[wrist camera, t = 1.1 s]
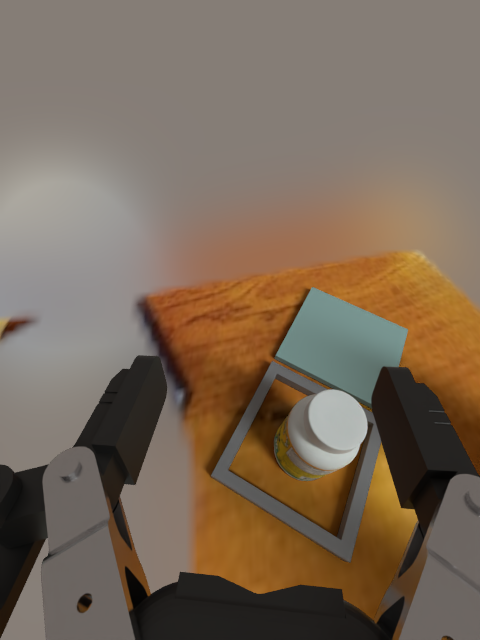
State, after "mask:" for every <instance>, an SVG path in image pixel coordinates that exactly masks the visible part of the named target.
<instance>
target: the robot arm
mask: <svg viewBox="0 0 480 640" xmlns="http://www.w3.org/2000/svg"><path fill="white" fill-rule="evenodd" d="M166 394H167V383H166V379H165V375H164V371H163V368H162V364H161V360H160V358H159V357H158V356H137V357H136V358H135V360H134V362H133V364H132V366H131V368H130V369H122V370H121V371H120V372H119V373H118V374H117V375H116V376H115V377H114V378H113V379H112V380H111V381H110V383H109V385H108V387H107V389H106V390H105V394H103V396H102V398H101V399H100V401H99V404H98V405H97V406H96V408H95V410H94V412H93V413H92V415H91V417H90V419H89V420H88V422H87V424H86V426H85V428H84V429H83V431H82V433H81V435H80V437H79V438H78V440H77V442H76V443H75V445H74V446H73V447H72V448H70V449H68V450H65V451H64V452H62V453H60V454H59V455H58V456H56V457H55V458H54V459H53V460H52V461H51V462H50V464H48V465H45V466H41V467H37V468H33V469H29V470H25V471H21V472H16V473H14V472H13V471H12V469H11V468H9V467H8V466H6V465H0V638H1V636H2V634H3V631H4V629H5V627H6V625H7V623H8V620H9V618H10V616H11V614H12V612H13V609H14V607H15V605H16V603H17V601H18V598H19V596H20V594H21V592H22V590H23V587H24V585H25V583H26V581H27V579H28V577H29V574H30V572H31V570H32V568H33V566H34V564H35V561H36V559H37V557H38V554H39V553H40V550H41V548H42V546H43V544H44V542H45V539H46V538H48V543H49V553H48V556H47V557H46V558H44V560H43V562H42V567H41V581H42V593H43V607H44V620H45V632H46V640H480V476H479V475H478V473H477V472H476V470H475V468H474V466H473V464H472V462H471V460H470V458H469V457H468V455H467V453H466V451H465V449H464V447H463V445H462V443H461V441H460V439H459V437H458V436H457V434H456V432H455V430H454V428H453V426H452V425H451V424H450V423H451V422H450V420H449V418H448V416H447V415H446V413H444V409H443V407H442V405H441V403H440V401H439V399H438V397H437V396H436V395H435V394H434V393H433V392H432V391H431V390H430V389H429V388H428V387H427V386H426V385H425V384H423V383H415V380H414V378H413V376H412V374H411V372H410V370H409V369H408V368H406V367H386V366H384V367H382V368H381V370H380V373H379V376H378V379H377V382H376V384H375V387H374V390H373V393H372V398H371V406H372V412H373V415H374V419H375V422H376V425H377V428H378V432H379V435H380V438H381V442H382V445H383V448H384V452H385V455H386V458H387V462H388V465H389V468H390V472H391V475H392V478H393V482H394V485H395V488H396V492H397V495H398V498H399V502H400V505H401V508H406V509H415V512H416V515H417V518H418V521H417V523H416V525H415V527H414V530H413V532H412V535H411V537H410V540H409V542H408V544H407V547H406V549H405V552H404V554H403V557H402V559H401V562H400V564H399V567H398V569H397V572H396V574H395V577H394V579H393V581H392V583H391V585H390V587H389V588H388V590H387V592H386V593H385V595H384V597H383V599H382V601H381V604H380V606H379V608H378V611H377V613H376V615H375V618H374V620H372V619H371V618H370V617H369V616H368V615H366V614H365V613H364V612H362V611H361V610H360V609H358V608H357V607H355V606H354V605H352V604H350V603H349V602H346V601H344V600H343V594H342V589H334V588H325V587H316V586H307V585H298V586H294V587H290V588H285V589H281V590H277V591H273V592H268V593H264V594H256V593H253V592H251V591H249V590H247V589H245V588H243V587H241V586H239V585H236V584H234V583H232V582H230V581H228V580H226V579H224V578H222V577H219V576H214V575H205V574H195V573H186V572H180V575H179V580H178V582H175V583H172V584H169V585H167V586H164V587H162V588H161V589H159V590H157V591H155V592H154V593H152V594H151V593H150V589H149V586H148V583H147V579H146V576H145V573H144V571H143V568H142V565H141V563H140V561H139V559H138V556H137V553H136V550H135V547H134V543H133V540H132V537H131V533H130V530H129V526H128V523H127V520H126V516H125V512H124V509H123V506H122V502H121V499H120V494H121V491H122V488H123V486H124V484H131V485H135V484H136V482H137V478H138V476H139V473H140V470H141V467H142V464H143V462H144V459H145V456H146V453H147V450H148V447H149V444H150V442H151V439H152V436H153V433H154V430H155V427H156V425H157V422H158V419H159V416H160V413H161V410H162V408H163V405H164V402H165V399H166Z"/></svg>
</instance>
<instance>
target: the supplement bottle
mask: <svg viewBox="0 0 480 640" xmlns="http://www.w3.org/2000/svg"><path fill="white" fill-rule="evenodd" d="M366 434H367V418H366V415H365V412H364V410H363V409H362V407H361V405H360V404H359V403H358V402H357V401H356V400H355V399H354V398H353V397H352V396H350V395H349V394H347V393H345V392H343V391H339V390H334V389H329V390H324V391H322V392H320V393H318V394H314V395H310V396H307V397H305V398H303V399H301V400H300V401H299V402H298V403H297V404H296V405H295V406H294V407H293V408H292V410H291V412H290V413H289V414H288V416H287V417H286V418H285V420H284V421H283V423H282V424H281V426H280V427H279V429H278V430H277V432H276V435H275V438H274V452H275V457H276V460H277V462H278V464H279V465H280V467H281V468H282V469H283V470H284V471H285V472H286V473H287V474H288V475H289V476H291V477H293V478H295V479H298V480H302V481H311V480H315V479H318V478H321V477H323V476H325V475H327V474H329V473H332V472H334V471H336V470H338V469H341V468H343V467H344V466H346V465H348V464H349V463H350V462H351V461H352V460H353V459H354V458H355V456H356V455H357V453H358V450H359V447H360V444H361V443H362V442H363V440H364V438H365V436H366Z"/></svg>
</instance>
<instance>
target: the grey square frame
mask: <svg viewBox="0 0 480 640" xmlns="http://www.w3.org/2000/svg"><path fill="white" fill-rule="evenodd" d="M274 379H277V380H279V381H281V382H283V383H285V384H287V385H289V386H291V387H293V388H295V389H296V390H298V391H300V392H302V393H304V394H306V395H308V396H310V395H314V394H318V393H320V392H322V391H324V390H328V389H326V388H324V387H322V386H320V385H318V384H316V383H314V382H312V381H310V380H308V379H306V378H304V377H302V376H300V375H298V374H296V373H294V372H293V371H291V370H289V369H287V368H285V367H283V366H281V365H279V364H277V363H275V362H273V361H272V363H271V364H270V366H269V368H268V370H267V372H266V374H265V376H264V378H263V379H262V381H261V383H260V385H259V387H258V389H257V391H256V392H255V394H254V396H253V398H252V400H251V402H250V404H249V406H248V407H247V409H246V411H245V413H244V415H243V417H242V419H241V420H240V422H239V424H238V426H237V428H236V430H235V432H234V434H233V435H232V437H231V439H230V441H229V443H228V445H227V447H226V448H225V450H224V452H223V454H222V456H221V458H220V460H219V461H218V463H217V465H216V467H215V469H214V471H213V473H212V475H211V477H212V478H213V479H215V480H216V481H218V482H220V483H221V484H223V485H224V486H226V487H227V488H229V489H231V490H232V491H234V492H235V493H237V494H239V495H240V496H242V497H243V498H245V499H246V500H248V501H250V502H251V503H253V504H254V505H256V506H258V507H259V508H261V509H262V510H264V511H266V512H267V513H269V514H270V515H272V516H273V517H275V518H277V519H278V520H280V521H281V522H283V523H285V524H286V525H288V526H289V527H291V528H292V529H294V530H296V531H297V532H299V533H300V534H302V535H304V536H305V537H307V538H308V539H310V540H312V541H313V542H315V543H316V544H318V545H319V546H321V547H323V548H324V549H326V550H327V551H329V552H331V553H332V554H334V555H335V556H337V557H338V558H340V559H342V560H343V561H345V562H349V563H350V562H351V558H352V554H353V550H354V546H355V542H356V538H357V534H358V530H359V526H360V522H361V518H362V514H363V511H364V507H365V503H366V499H367V495H368V491H369V487H370V483H371V479H372V475H373V471H374V467H375V463H376V459H377V455H378V451H379V448H380V444H381V438H380V435H379V432H378V428H377V425H376V422H375V419H374V415H373V413H372V412H370V411H368V410H366V409H364V408H363V407H362V409H363V410H364V412H365V415H366V418H367V427H368V430H367V434H366V437H365V440H364V444H363V447H362V451H361V454H360V458H359V461H358V465H357V468H356V472H355V475H354V479H353V482H352V486H351V489H350V493H349V496H348V500H347V503H346V507H345V510H344V514H343V517H342V521H341V524H340V528H339V531H338V535H337V537H335V536H334V535H332V534H331V533H329V532H327V531H326V530H324V529H322V528H321V527H319V526H318V525H316V524H314V523H313V522H311V521H309V520H308V519H306V518H305V517H303V516H301V515H300V514H298V513H296V512H295V511H293V510H292V509H290V508H288V507H287V506H285V505H283V504H282V503H280V502H279V501H277V500H275V499H274V498H272V497H271V496H269V495H267V494H266V493H264V492H262V491H261V490H259V489H258V488H256V487H254V486H253V485H251V484H249V483H248V482H246V481H245V480H243V479H241V478H240V477H238V476H236V475H235V474H233V473H232V472H230V471H228V469H229V467H230V465H231V463H232V461H233V459H234V458H235V456H236V454H237V452H238V450H239V448H240V446H241V444H242V442H243V440H244V438H245V436H246V434H247V432H248V430H249V428H250V426H251V424H252V422H253V420H254V418H255V416H256V414H257V413H258V411H259V409H260V407H261V405H262V403H263V401H264V399H265V397H266V395H267V393H268V391H269V389H270V387H271V385H272V383H273V381H274Z"/></svg>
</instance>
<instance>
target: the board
mask: <svg viewBox="0 0 480 640" xmlns="http://www.w3.org/2000/svg"><path fill="white" fill-rule="evenodd" d="M407 332H408V329H406V328H403V327H401V326H399V325H397V324H394V323H392V322H390V321H388V320H385V319H383V318H381V317H379V316H376V315H374V314H372V313H370V312H367V311H365V310H363V309H361V308H358V307H356V306H354V305H352V304H349V303H347V302H345V301H343V300H340V299H338V298H336V297H334V296H331V295H329V294H327V293H325V292H322V291H320V290H318V289H316V288H313V287H312V288H311V290H310V292H309V294H308V296H307V298H306V300H305V302H304V303H303V305H302V307H301V309H300V311H299V313H298V315H297V316H296V318H295V320H294V322H293V324H292V326H291V328H290V330H289V331H288V333H287V335H286V337H285V339H284V341H283V343H282V344H281V346H280V348H279V350H278V352H277V354H276V356H275V358H274V359H276V360H278V361H280V362H282V363H284V364H286V365H288V366H289V367H291V368H293V369H295V370H297V371H299V372H301V373H303V374H305V375H307V376H309V377H311V378H313V379H315V380H317V381H319V382H321V383H323V384H325V385H327V386H329V387H331V388H332V389H334V390H339V391H343V392H345V393H347V394H349V395H350V396H352V397H353V398H354V399H355V400H356V401H358V402H360V403H362V404H364V405H366V406H368V407H370V408H372V406H371V398H372V393H373V390H374V387H375V384H376V382H377V379H378V376H379V373H380V370H381V368H382V367H384V366H386V367H399V363H400V359H401V355H402V351H403V347H404V343H405V340H406V336H407Z"/></svg>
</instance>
